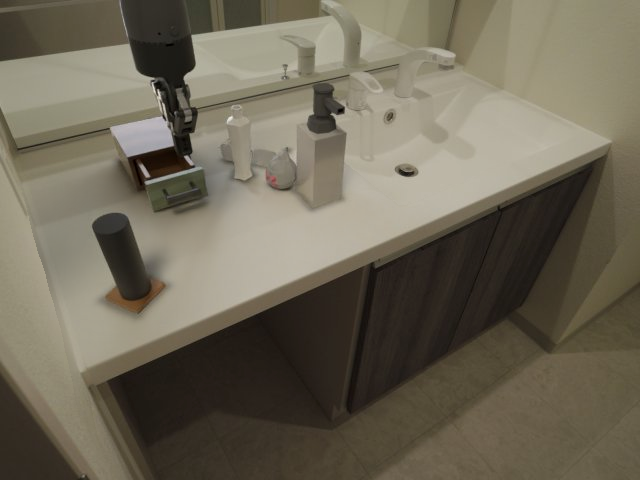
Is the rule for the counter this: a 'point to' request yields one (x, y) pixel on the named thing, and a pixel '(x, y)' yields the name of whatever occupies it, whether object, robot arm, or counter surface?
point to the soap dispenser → (321, 150)
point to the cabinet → (141, 143)
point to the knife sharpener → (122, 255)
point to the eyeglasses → (258, 155)
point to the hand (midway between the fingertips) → (184, 153)
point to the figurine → (281, 170)
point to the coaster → (138, 304)
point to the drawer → (170, 179)
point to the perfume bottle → (240, 142)
